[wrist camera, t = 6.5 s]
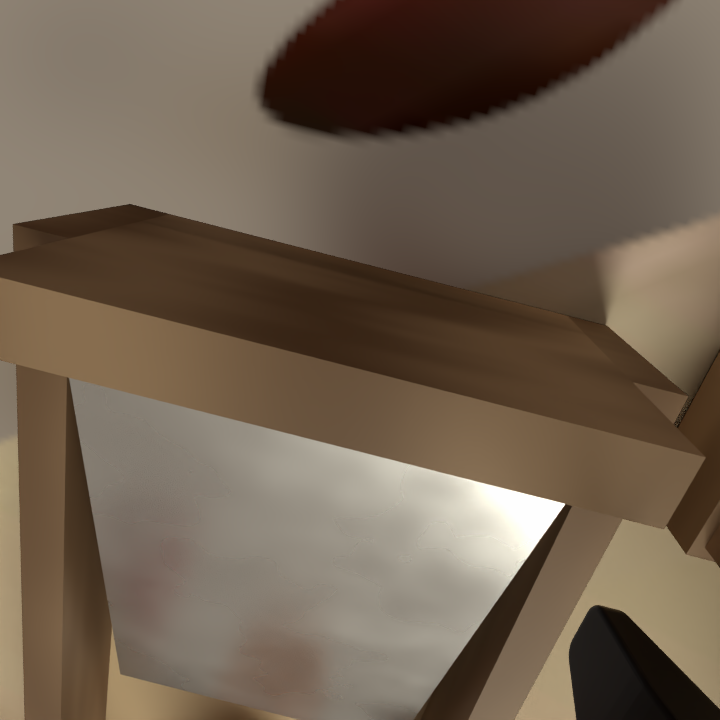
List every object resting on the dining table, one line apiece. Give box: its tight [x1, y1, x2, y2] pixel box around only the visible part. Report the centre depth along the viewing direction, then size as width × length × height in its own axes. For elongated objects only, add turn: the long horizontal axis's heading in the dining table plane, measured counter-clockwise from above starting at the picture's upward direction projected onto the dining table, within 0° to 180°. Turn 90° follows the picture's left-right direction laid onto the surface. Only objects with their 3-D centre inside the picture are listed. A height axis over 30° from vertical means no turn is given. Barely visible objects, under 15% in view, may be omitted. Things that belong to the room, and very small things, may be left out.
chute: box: [69, 378, 565, 720], centre depth 12 cm, size 9×13×4 cm, turn 167°
